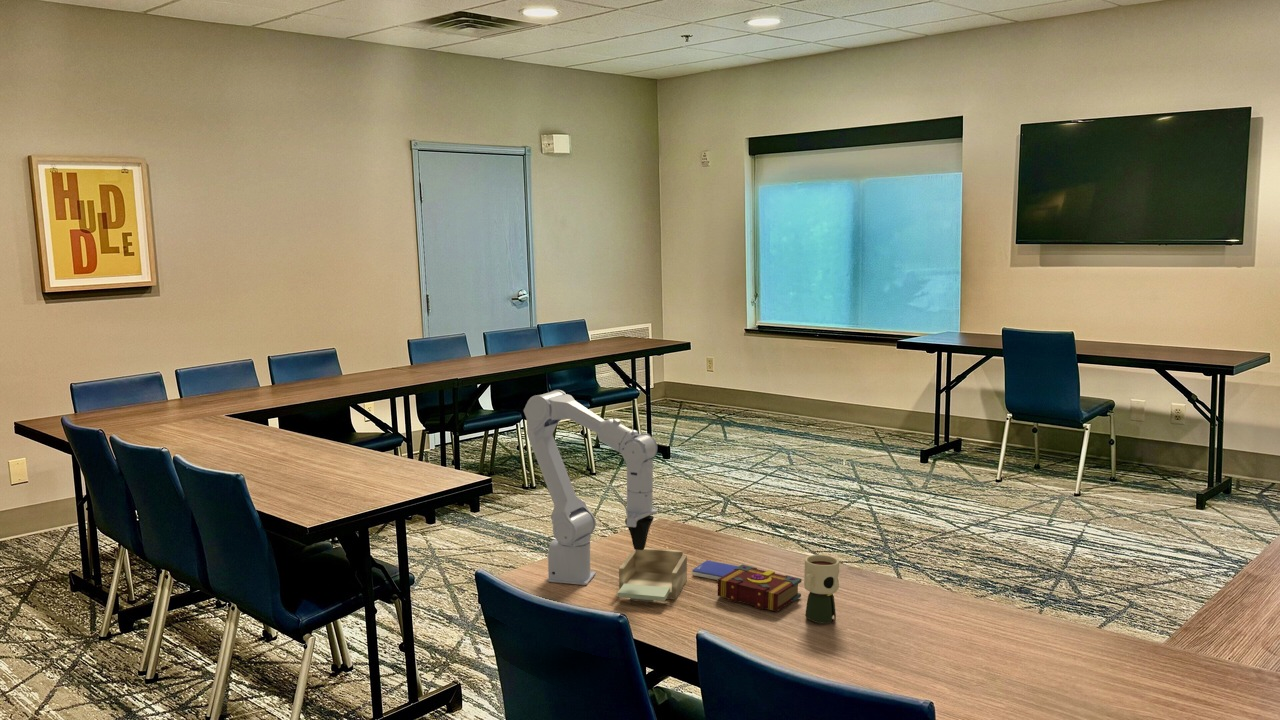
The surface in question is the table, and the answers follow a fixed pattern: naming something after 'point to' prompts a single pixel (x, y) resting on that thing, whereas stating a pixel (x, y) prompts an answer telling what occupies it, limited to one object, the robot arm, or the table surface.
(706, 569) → the hard drive
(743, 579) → the decorative book
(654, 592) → the panel
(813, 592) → the character mug
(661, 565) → the crate
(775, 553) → the table surface
